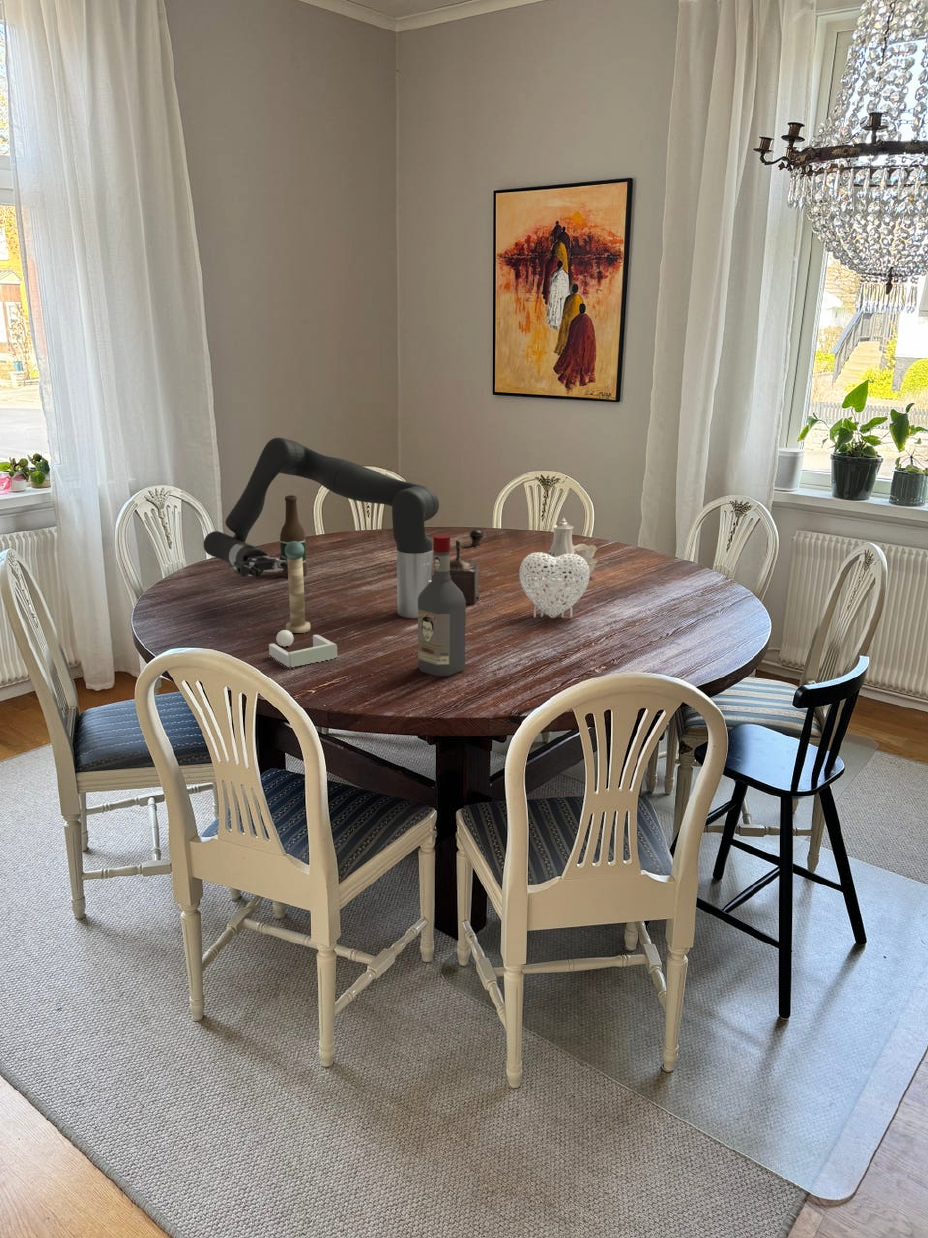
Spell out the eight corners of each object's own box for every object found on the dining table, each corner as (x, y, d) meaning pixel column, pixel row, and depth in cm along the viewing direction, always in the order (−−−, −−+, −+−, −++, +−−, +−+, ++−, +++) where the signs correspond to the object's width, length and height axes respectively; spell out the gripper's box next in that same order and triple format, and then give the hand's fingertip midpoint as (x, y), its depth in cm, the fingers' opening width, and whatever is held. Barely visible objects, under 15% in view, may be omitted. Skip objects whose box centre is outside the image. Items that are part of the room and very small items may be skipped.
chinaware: (600, 587, 278) (609, 532, 273) (544, 580, 278) (552, 526, 273) (591, 563, 305) (600, 513, 300) (541, 557, 305) (548, 507, 300)
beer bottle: (311, 573, 284) (308, 494, 276) (300, 579, 277) (297, 499, 269) (288, 571, 286) (284, 492, 278) (276, 577, 279) (272, 497, 271)
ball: (295, 643, 222) (294, 627, 221) (291, 649, 219) (291, 633, 217) (279, 643, 223) (278, 627, 221) (274, 649, 219) (273, 632, 218)
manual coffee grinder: (476, 605, 254) (477, 540, 248) (436, 603, 255) (436, 538, 250) (483, 589, 268) (484, 528, 263) (445, 588, 270) (445, 526, 264)
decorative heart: (516, 621, 240) (518, 556, 235) (519, 609, 250) (521, 547, 245) (587, 625, 238) (590, 559, 233) (587, 612, 248) (590, 549, 243)
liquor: (439, 658, 214) (439, 529, 204) (470, 668, 208) (472, 536, 199) (412, 669, 207) (411, 536, 198) (443, 679, 201) (444, 543, 192)
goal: (269, 656, 214) (268, 642, 213) (317, 646, 221) (317, 632, 220) (289, 669, 206) (288, 654, 205) (338, 658, 213) (338, 643, 212)
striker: (312, 626, 235) (309, 538, 228) (307, 634, 229) (303, 544, 222) (289, 626, 235) (284, 538, 228) (283, 633, 229) (278, 543, 222)
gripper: (221, 548, 244) (248, 561, 231) (272, 541, 252) (300, 553, 240) (223, 576, 246) (250, 590, 234) (273, 568, 254) (301, 581, 242)
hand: (275, 571), depth 237 cm, fingers open, 8 cm apart
